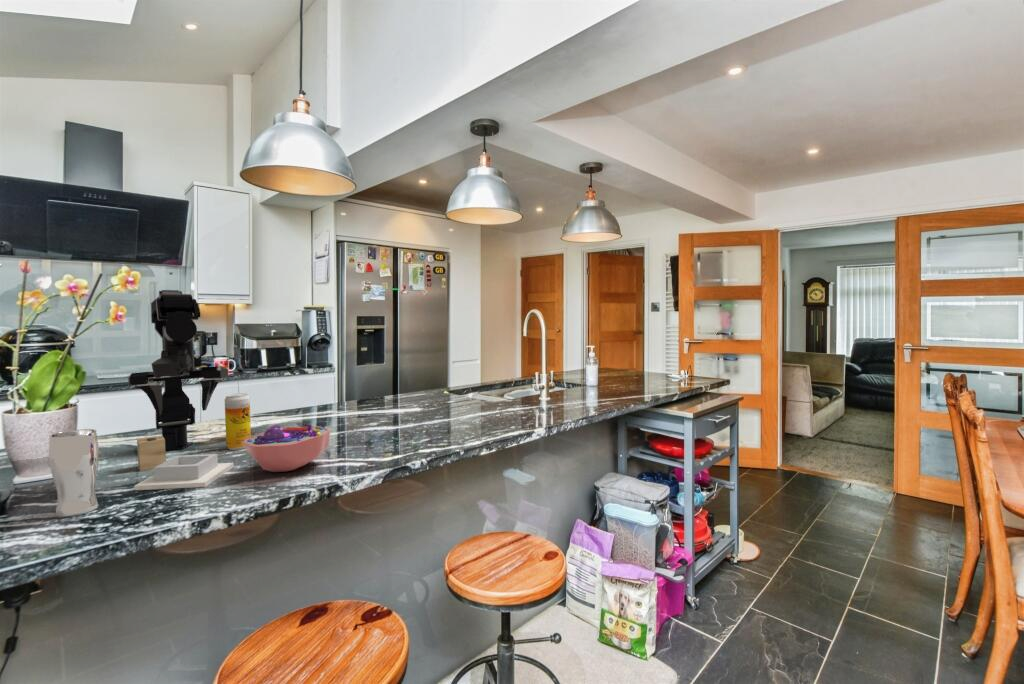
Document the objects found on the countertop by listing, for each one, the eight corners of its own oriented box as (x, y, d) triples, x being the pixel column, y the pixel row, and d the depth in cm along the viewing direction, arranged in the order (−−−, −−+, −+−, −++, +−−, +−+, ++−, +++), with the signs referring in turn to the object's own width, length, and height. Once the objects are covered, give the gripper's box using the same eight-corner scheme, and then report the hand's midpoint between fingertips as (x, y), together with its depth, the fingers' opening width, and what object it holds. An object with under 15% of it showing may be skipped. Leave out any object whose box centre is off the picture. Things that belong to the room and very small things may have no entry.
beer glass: (48, 521, 86) (44, 439, 85) (56, 509, 92) (51, 432, 91) (99, 512, 90) (95, 433, 89) (103, 500, 96) (99, 427, 95)
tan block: (138, 466, 117) (136, 437, 117) (163, 462, 121) (161, 433, 120) (140, 471, 114) (139, 441, 113) (166, 467, 117) (164, 437, 117)
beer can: (240, 451, 131) (238, 397, 130) (221, 450, 132) (219, 396, 131) (256, 445, 136) (254, 393, 136) (237, 444, 138) (236, 392, 137)
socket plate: (171, 469, 115) (171, 453, 115) (233, 466, 117) (233, 450, 117) (134, 490, 101) (133, 471, 101) (205, 486, 103) (204, 468, 103)
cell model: (346, 463, 120) (345, 419, 119) (267, 487, 103) (266, 435, 102) (307, 452, 129) (306, 411, 128) (229, 473, 113) (227, 425, 112)
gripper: (112, 347, 102) (115, 420, 101) (209, 340, 107) (213, 410, 106) (139, 350, 113) (143, 416, 112) (227, 344, 118) (230, 407, 117)
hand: (182, 412), depth 111 cm, fingers open, 9 cm apart
